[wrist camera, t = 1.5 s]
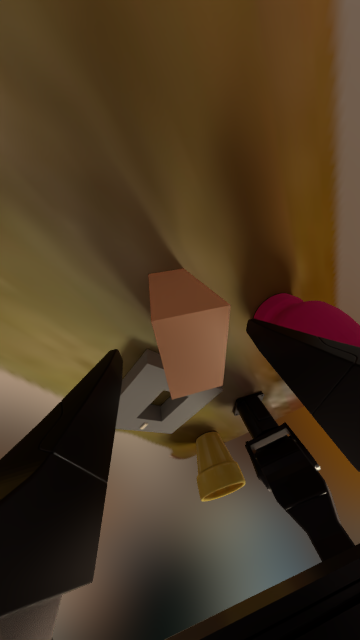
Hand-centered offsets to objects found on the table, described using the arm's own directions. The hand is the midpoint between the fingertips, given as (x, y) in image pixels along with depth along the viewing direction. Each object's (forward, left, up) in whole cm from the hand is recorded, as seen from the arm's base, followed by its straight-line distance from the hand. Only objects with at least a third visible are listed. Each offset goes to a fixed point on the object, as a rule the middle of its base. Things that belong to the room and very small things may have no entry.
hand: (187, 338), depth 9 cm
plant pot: (-42, -4, -7) cm, 43 cm away
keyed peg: (0, 0, -7) cm, 7 cm away
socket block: (-16, +4, -7) cm, 18 cm away
